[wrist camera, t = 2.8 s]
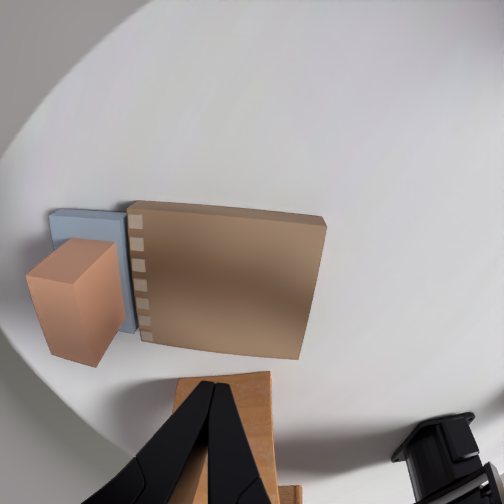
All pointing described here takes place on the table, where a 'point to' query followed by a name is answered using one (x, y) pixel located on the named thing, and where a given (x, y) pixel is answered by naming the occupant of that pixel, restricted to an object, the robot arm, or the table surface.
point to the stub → (84, 284)
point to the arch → (248, 430)
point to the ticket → (224, 277)
